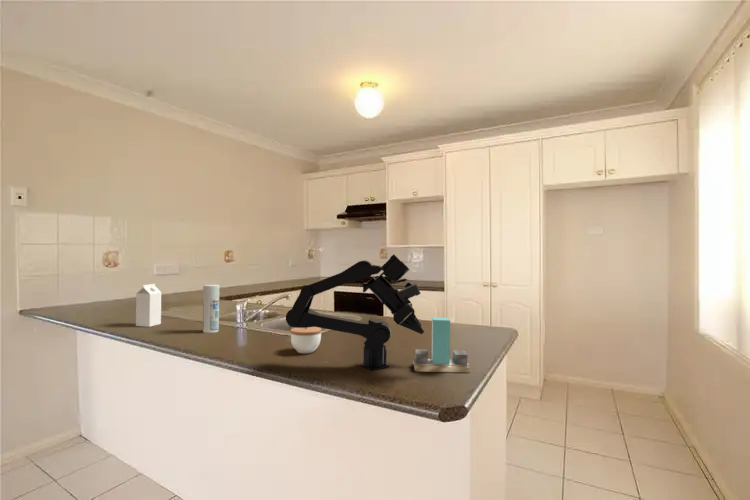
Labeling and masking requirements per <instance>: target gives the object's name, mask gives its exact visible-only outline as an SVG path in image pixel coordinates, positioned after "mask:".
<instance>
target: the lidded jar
mask: <svg viewBox="0 0 750 500" xmlns="http://www.w3.org/2000/svg"><path fill="white" fill-rule="evenodd" d="M322 329H323V328H319V327H307V328H293V327H291V329H290V342H291V346H292V347H293V348H294V350H295V351H296V352H297V353H298V354H311V353H314V352H315V350H316V349H317V348H319V346H320V344H321V339H322Z"/></svg>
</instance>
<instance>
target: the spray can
mask: <svg viewBox="0 0 750 500" xmlns="http://www.w3.org/2000/svg"><path fill="white" fill-rule="evenodd" d="M220 288H221V287H220V284H203V285H202V298H203V299H202V305H203V306H202V332H203V333H204V334H213V333H218V332H219V331H220Z"/></svg>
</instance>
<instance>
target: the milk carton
mask: <svg viewBox="0 0 750 500" xmlns="http://www.w3.org/2000/svg"><path fill="white" fill-rule="evenodd" d="M135 295H136V299H135V300H136V301H135V302H136V304H135V305H136V306H135V311H136V312H135V327H147V328H149V327H154V326H158V325H161V324H162V291H161V290H160V289H159V288H158V287H157V286H156V283H149V284H142V288H140V290H139V291H138V292H136V294H135Z"/></svg>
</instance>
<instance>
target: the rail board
mask: <svg viewBox="0 0 750 500" xmlns="http://www.w3.org/2000/svg"><path fill="white" fill-rule="evenodd" d="M414 351H415V352H414V356H415V357H414V358H413V359H412V360H413V362H412V364H413V368H414V369H413V370H414V372H426V373H427V372H429V373H431V372H434V373H465V374H466V373H471V372H470V371H471V369H470V364H469V363H468V354H467V352H466V351H465V350H460V349H459V350H458V349H455V350H454V349H453V350H452V359H450V364H433V363H432V358H431V359H430V358H429V353H428V350H427V348H426V349H421V348H420V349H418V348H416V349H415V350H414Z"/></svg>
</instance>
